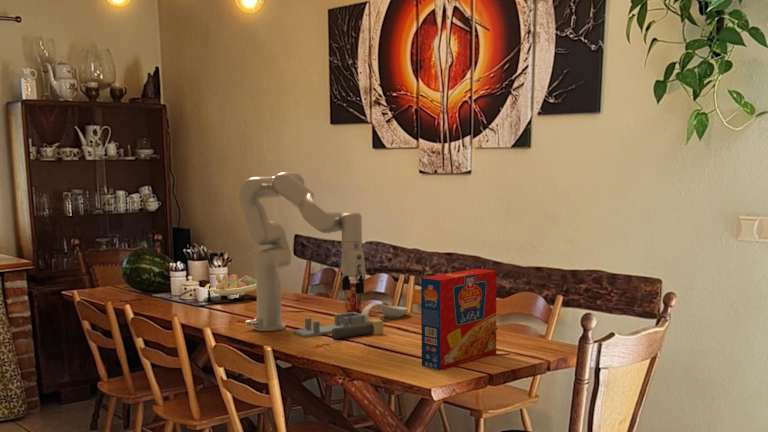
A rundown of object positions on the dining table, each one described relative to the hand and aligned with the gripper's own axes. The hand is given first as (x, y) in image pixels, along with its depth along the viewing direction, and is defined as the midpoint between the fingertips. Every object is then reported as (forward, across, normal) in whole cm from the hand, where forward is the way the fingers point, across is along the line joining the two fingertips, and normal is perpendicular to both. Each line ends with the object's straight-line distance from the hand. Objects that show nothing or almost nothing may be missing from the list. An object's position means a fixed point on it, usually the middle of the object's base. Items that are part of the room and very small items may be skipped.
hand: (353, 291), depth 254 cm
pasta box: (+18, -48, -11) cm, 52 cm away
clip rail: (+17, +14, +3) cm, 22 cm away
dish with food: (+16, +103, +8) cm, 105 cm away
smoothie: (+17, +40, -24) cm, 50 cm away
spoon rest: (+17, +21, -27) cm, 38 cm away
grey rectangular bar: (+17, 0, -2) cm, 17 cm away
